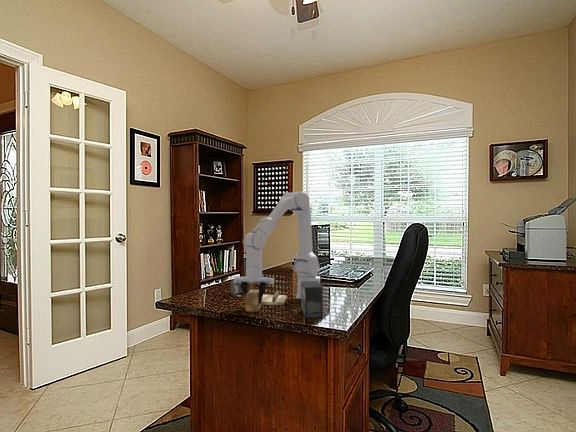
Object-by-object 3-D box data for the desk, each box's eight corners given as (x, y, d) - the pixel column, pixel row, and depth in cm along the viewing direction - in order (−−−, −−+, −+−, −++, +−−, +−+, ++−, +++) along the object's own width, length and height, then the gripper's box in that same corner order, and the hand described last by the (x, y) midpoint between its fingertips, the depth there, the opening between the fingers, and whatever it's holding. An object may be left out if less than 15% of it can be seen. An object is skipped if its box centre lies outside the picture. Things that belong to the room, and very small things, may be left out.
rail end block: (261, 305, 129) (261, 289, 129) (257, 311, 121) (257, 294, 121) (250, 305, 129) (250, 289, 129) (245, 311, 121) (246, 294, 121)
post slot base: (286, 297, 142) (286, 290, 142) (283, 305, 130) (283, 297, 130) (253, 296, 143) (253, 290, 143) (246, 303, 131) (246, 296, 132)
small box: (300, 309, 124) (300, 280, 124) (318, 309, 124) (318, 280, 124) (304, 318, 113) (304, 286, 113) (323, 318, 114) (323, 286, 114)
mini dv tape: (233, 295, 146) (233, 281, 146) (230, 294, 147) (230, 280, 147) (244, 291, 154) (245, 278, 154) (242, 291, 154) (242, 277, 154)
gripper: (231, 266, 122) (231, 305, 122) (272, 267, 120) (271, 306, 120) (236, 264, 129) (236, 300, 129) (275, 264, 127) (274, 301, 127)
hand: (253, 303), depth 125 cm, fingers closed on rail end block, 4 cm apart
